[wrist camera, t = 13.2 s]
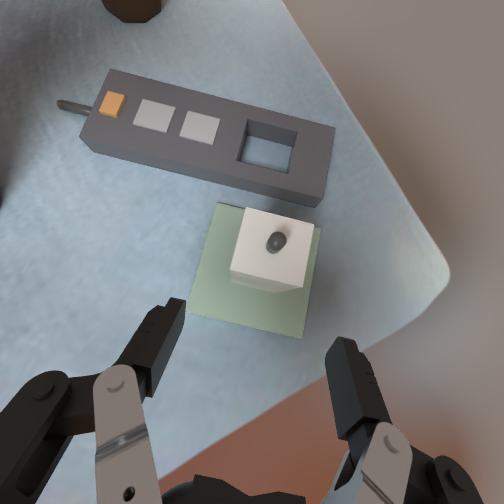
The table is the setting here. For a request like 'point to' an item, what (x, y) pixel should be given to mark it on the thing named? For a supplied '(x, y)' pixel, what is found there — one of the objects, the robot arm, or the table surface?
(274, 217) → the block
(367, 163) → the table surface
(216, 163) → the power strip
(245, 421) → the table surface
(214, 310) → the mat
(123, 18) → the beer bottle
